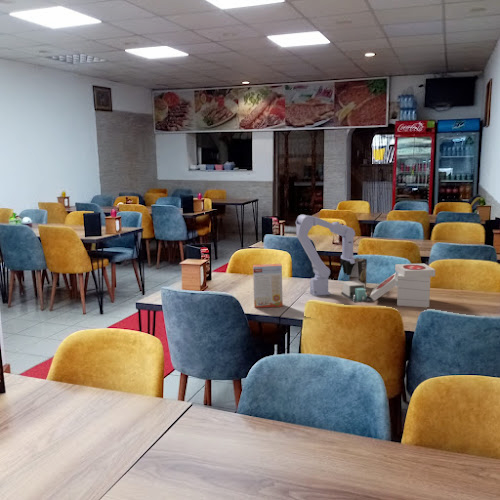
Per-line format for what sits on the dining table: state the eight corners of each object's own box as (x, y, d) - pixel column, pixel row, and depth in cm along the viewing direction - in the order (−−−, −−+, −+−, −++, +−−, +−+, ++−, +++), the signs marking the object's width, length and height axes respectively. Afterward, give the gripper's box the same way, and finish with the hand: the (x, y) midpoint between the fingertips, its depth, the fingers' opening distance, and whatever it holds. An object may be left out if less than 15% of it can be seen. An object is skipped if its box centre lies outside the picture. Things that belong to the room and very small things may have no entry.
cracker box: (281, 303, 261) (281, 263, 258) (282, 307, 255) (282, 265, 252) (253, 304, 261) (252, 263, 257) (254, 308, 255) (253, 266, 251)
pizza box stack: (373, 294, 274) (374, 261, 270) (433, 298, 264) (435, 263, 261) (369, 304, 256) (369, 269, 253) (433, 309, 246) (435, 272, 243)
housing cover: (349, 296, 269) (349, 285, 268) (342, 292, 277) (342, 281, 276) (364, 295, 270) (365, 284, 269) (358, 291, 279) (358, 280, 278)
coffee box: (359, 290, 282) (360, 261, 279) (348, 289, 286) (349, 260, 283) (366, 287, 290) (367, 258, 287) (356, 285, 293) (356, 257, 290)
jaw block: (358, 299, 263) (358, 290, 262) (354, 297, 267) (355, 288, 266) (365, 299, 264) (365, 289, 263) (362, 297, 268) (362, 287, 267)
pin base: (354, 302, 261) (354, 297, 260) (341, 293, 277) (341, 289, 277) (373, 300, 263) (373, 296, 262) (359, 292, 279) (359, 287, 279)
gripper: (360, 251, 272) (359, 276, 274) (349, 246, 286) (349, 270, 288) (347, 252, 270) (347, 277, 273) (337, 247, 284) (337, 271, 287)
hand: (347, 274), depth 280 cm, fingers open, 3 cm apart
